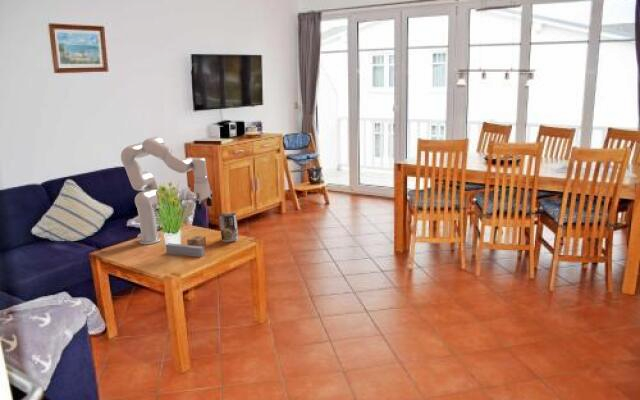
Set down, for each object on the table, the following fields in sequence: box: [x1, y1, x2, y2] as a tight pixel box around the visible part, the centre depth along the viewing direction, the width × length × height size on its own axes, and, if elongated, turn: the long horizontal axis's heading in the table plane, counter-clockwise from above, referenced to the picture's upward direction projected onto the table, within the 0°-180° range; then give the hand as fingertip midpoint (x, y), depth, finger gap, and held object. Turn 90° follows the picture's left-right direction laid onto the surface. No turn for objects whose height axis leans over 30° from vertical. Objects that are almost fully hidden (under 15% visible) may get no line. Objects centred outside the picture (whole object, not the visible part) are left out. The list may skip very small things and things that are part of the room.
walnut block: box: [186, 235, 207, 248], centre depth 316 cm, size 8×7×6 cm
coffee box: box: [218, 212, 240, 243], centre depth 325 cm, size 9×6×16 cm
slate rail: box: [165, 242, 205, 258], centre depth 306 cm, size 24×3×5 cm, turn 67°
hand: (204, 208), depth 315 cm, fingers open, 9 cm apart
